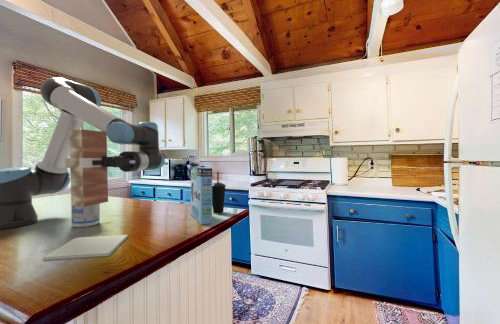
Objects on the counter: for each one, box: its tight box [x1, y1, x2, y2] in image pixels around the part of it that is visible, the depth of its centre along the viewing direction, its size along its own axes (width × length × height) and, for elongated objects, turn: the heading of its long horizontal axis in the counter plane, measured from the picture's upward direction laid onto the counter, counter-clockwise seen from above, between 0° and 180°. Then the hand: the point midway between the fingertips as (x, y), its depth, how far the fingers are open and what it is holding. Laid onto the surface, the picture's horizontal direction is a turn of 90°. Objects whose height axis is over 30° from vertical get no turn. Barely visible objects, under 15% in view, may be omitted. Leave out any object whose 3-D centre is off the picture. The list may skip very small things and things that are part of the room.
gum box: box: [190, 165, 213, 226], centre depth 106 cm, size 20×5×23 cm, turn 26°
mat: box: [43, 234, 129, 261], centre depth 74 cm, size 16×16×1 cm
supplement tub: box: [70, 203, 101, 228], centre depth 99 cm, size 10×10×15 cm
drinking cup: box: [212, 171, 227, 214], centre depth 118 cm, size 8×8×20 cm
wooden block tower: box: [69, 128, 109, 207], centre depth 73 cm, size 5×8×22 cm, turn 165°
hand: (72, 163), depth 68 cm, fingers closed on wooden block tower, 5 cm apart
